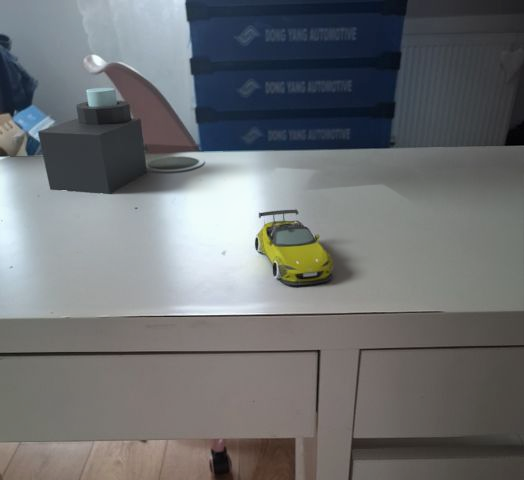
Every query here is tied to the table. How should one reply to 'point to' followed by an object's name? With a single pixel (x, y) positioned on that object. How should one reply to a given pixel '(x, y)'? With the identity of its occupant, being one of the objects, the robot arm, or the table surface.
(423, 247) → the table surface
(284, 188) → the table surface
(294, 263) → the sports car
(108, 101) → the pale turquoise short cylinder
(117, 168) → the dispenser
